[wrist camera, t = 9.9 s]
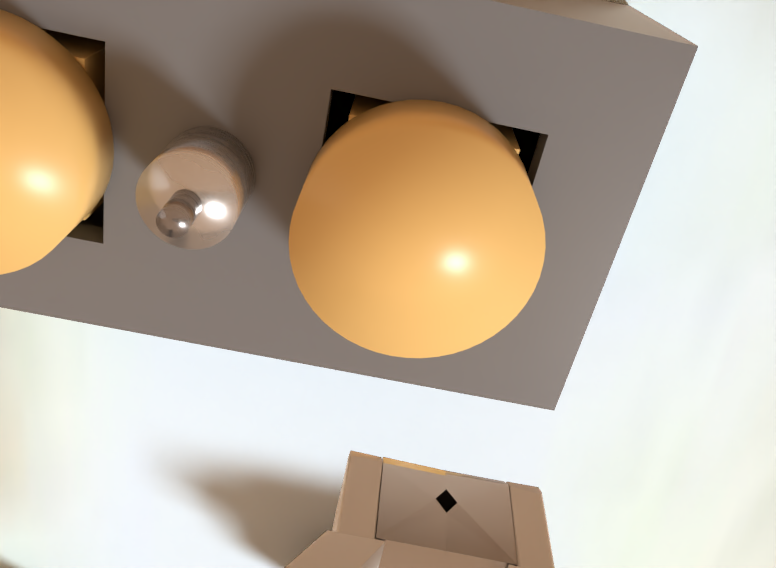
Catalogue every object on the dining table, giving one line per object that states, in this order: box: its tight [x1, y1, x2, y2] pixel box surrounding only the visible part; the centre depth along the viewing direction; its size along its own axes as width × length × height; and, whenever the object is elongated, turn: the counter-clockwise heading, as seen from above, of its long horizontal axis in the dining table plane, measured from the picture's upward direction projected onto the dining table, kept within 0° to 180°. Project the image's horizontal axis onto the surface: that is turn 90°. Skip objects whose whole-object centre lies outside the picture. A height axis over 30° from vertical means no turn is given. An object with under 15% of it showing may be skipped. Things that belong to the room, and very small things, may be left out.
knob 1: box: [0, 9, 114, 275], centre depth 21 cm, size 7×7×8 cm
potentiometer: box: [136, 126, 256, 249], centre depth 19 cm, size 3×3×4 cm
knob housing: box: [0, 0, 698, 410], centre depth 24 cm, size 12×24×7 cm, turn 79°
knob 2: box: [289, 94, 546, 358], centre depth 22 cm, size 7×7×8 cm
